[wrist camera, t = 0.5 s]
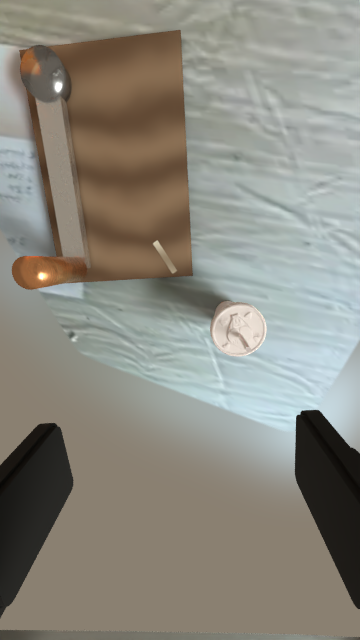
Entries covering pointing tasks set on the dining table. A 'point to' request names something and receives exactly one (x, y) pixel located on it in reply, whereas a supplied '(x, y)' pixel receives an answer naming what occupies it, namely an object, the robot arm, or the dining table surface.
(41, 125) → the lever
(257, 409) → the dining table surface
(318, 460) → the robot arm
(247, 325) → the smoothie
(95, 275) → the lever base
